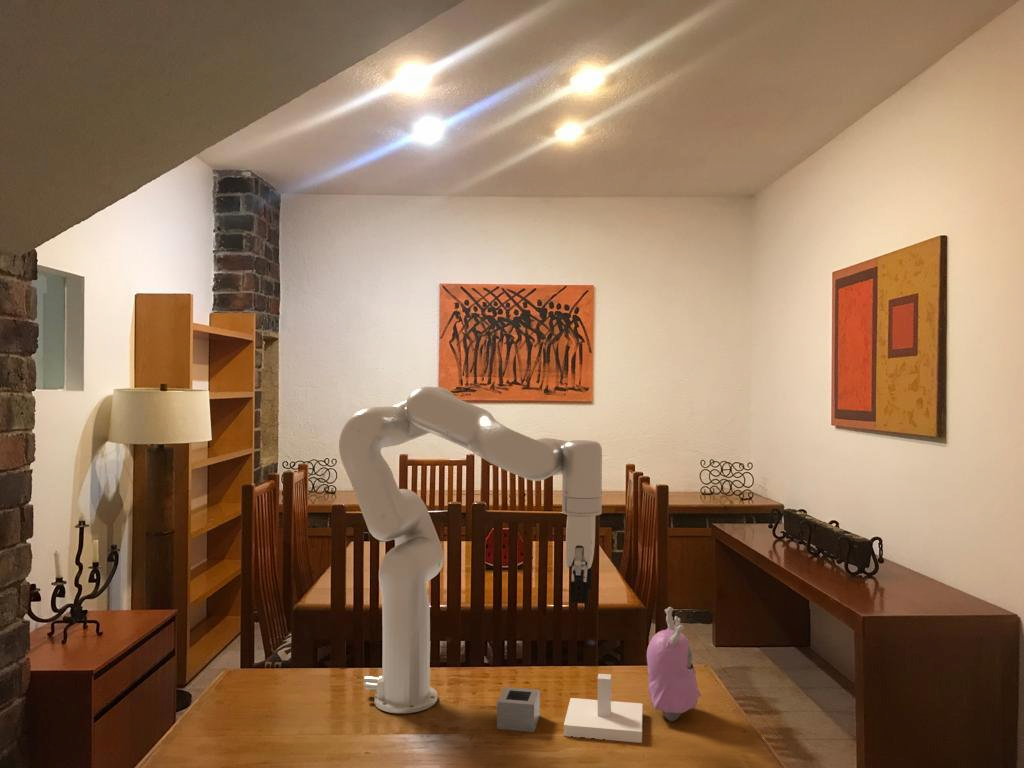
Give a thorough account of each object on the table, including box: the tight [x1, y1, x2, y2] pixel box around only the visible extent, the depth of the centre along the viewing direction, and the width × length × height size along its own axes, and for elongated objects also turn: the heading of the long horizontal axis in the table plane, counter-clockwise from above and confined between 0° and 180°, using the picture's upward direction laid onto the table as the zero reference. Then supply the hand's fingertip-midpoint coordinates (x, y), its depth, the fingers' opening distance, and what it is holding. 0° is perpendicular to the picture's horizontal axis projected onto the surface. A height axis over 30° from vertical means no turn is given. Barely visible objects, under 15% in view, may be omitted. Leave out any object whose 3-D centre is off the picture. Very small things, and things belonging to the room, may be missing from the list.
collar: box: [496, 686, 541, 733], centre depth 138 cm, size 7×7×5 cm
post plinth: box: [563, 673, 643, 744], centre depth 137 cm, size 14×12×9 cm
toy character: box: [646, 606, 702, 722], centre depth 142 cm, size 12×10×20 cm
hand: (581, 595), depth 139 cm, fingers open, 9 cm apart
